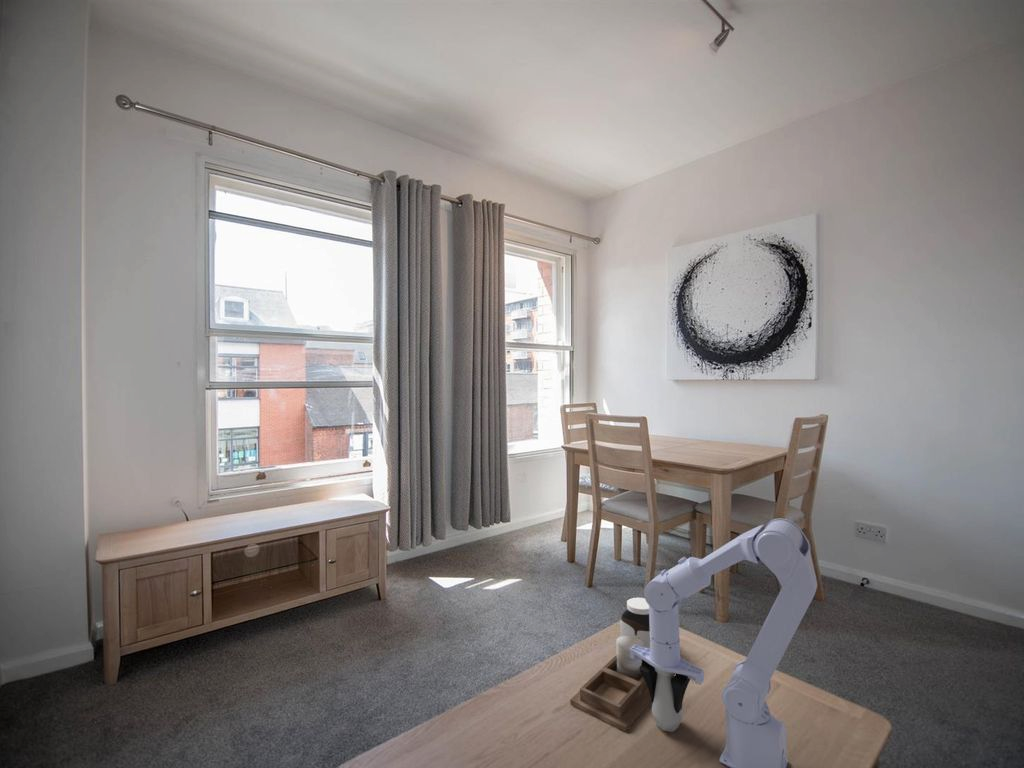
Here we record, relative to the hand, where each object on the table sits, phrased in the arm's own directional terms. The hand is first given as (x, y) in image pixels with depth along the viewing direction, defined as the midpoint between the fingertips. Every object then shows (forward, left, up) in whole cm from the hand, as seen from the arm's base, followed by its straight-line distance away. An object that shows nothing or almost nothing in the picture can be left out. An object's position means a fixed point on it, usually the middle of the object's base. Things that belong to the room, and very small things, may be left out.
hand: (666, 705), depth 94 cm
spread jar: (+15, -24, -4) cm, 29 cm away
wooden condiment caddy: (+12, -4, -4) cm, 13 cm away
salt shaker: (0, 0, -4) cm, 4 cm away
